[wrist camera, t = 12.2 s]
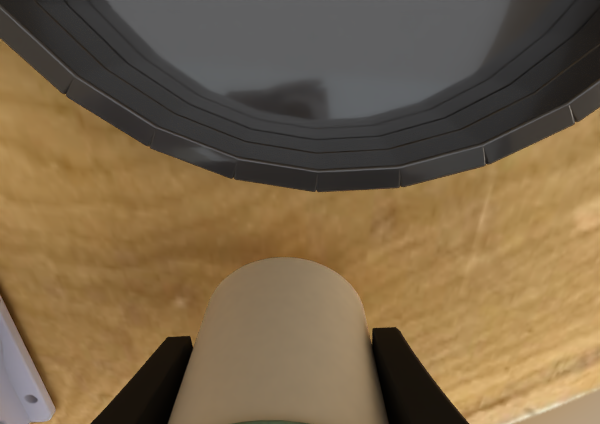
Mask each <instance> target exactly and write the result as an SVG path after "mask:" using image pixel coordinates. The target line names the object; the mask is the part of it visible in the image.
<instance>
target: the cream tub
mask: <svg viewBox="0 0 600 424" xmlns="http://www.w3.org/2000/svg"><path fill="white" fill-rule="evenodd" d="M168 424H389V422H388V417H387V413H386V408H385V404H384V399H383V394H382V390H381V385H380V381H379V376H378V372H377V367H376V362H375V358H374V353H373V349H372V344H371V339H370V335H369V330H368V325H367V321H366V316H365V312H364V308H363V304H362V302H361V299H360V297H359V295H358V294H357V292H356V291H355V289H354V288H353V287H352V286H351V284H350V283H349V282H348V281H347V280H345V279H344V278H343V277H342V276H341V275H340V274H338V273H337V272H335V271H334V270H332V269H330V268H328V267H326V266H324V265H322V264H319V263H316V262H314V261H310V260H306V259H301V258H293V257H276V258H267V259H263V260H258V261H255V262H252V263H249V264H247V265H245V266H243V267H241V268H239V269H237V270H235V271H234V272H232V273H231V274H230V275H228V276H227V277H226V278H225V279H224V280H223V281H222V282H221V283H220V284H219V285H218V286H217V288H216V289H215V291H214V292H213V294H212V296H211V298H210V300H209V303H208V306H207V308H206V311H205V314H204V317H203V320H202V323H201V326H200V329H199V332H198V335H197V338H196V341H195V344H194V347H193V350H192V353H191V356H190V359H189V362H188V365H187V368H186V371H185V374H184V377H183V380H182V383H181V386H180V389H179V391H178V394H177V397H176V400H175V403H174V406H173V409H172V412H171V415H170V418H169V421H168Z"/></svg>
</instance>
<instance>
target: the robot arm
mask: <svg viewBox="0 0 600 424" xmlns="http://www.w3.org/2000/svg"><path fill="white" fill-rule="evenodd" d="M372 349H373V353H374V358H375V362H376V367H377V372H378V376H379V381H380V385H381V390H382V394H383V399H384V404H385V408H386V413H387V417H388V422H389V424H469V423H468V422H467V421H466V419H465V418H464V417H463V416H462V415H461V414H460V412H459V411H458V410H457V409H456V408H455V406H454V405H453V404H452V403H451V402H450V400H449V399H448V398H447V396H446V395H445V394H444V393H443V391H442V390H441V389H440V388H439V386H438V385H437V384H436V382H435V381H434V380H433V379H432V377H431V376H430V375H429V373H428V372H427V371H426V369H425V368H424V366H423V365H422V364H421V362H420V361H419V359H418V358H417V357H416V355H415V354H414V352H413V351H412V349H411V348H410V346H409V345H408V343H407V342H406V340H405V338H404V337H403V335H402V334H401V332H400V330H398V329H397V328H396V327H391V328H373V331H372ZM192 350H193V346H192V342H191V338H190V336H181V337H167V338H166V340H165V341H164V342H163V343H162V344H161V345H160V346H159V347H158V349H157V350H156V351H155V352H154V353H153V354H152V356H151V357H150V358H149V359H148V360H147V361H146V363H145V364H144V365H143V366H142V367H141V368H140V370H139V371H138V372H137V373H136V374H135V375H134V377H133V378H132V379H131V380H130V381H129V382H128V383H127V385H126V386H125V387H124V388H123V389H122V390H121V391H120V392H119V393H118V395H117V396H116V397H115V398H114V399H113V400H112V401H111V402H110V404H109V405H108V406H107V407H106V408H105V409H104V410H103V411H102V412H101V413H100V414H99V415H98V416H97V417H96V418H95V419H94V420H93V422H92V423H91V424H168V421H169V418H170V415H171V412H172V409H173V406H174V403H175V400H176V397H177V394H178V391H179V389H180V386H181V383H182V380H183V377H184V374H185V371H186V368H187V365H188V362H189V359H190V356H191V353H192ZM55 411H56V410H55V406H54V404H53V402H52V400H51V398H50V396H49V394H48V392H47V390H46V388H45V386H44V384H43V382H42V380H41V377H40V375H39V373H38V371H37V369H36V367H35V365H34V363H33V361H32V359H31V357H30V355H29V353H28V351H27V349H26V347H25V345H24V342H23V340H22V338H21V336H20V334H19V332H18V330H17V328H16V326H15V324H14V322H13V320H12V318H11V316H10V314H9V312H8V310H7V307H6V305H5V303H4V301H3V299H2V297H1V295H0V424H29V423H30V422H45V421H48V420H50V419H51V418H52V416H53V415H54V413H55Z"/></svg>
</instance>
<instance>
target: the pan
mask: <svg viewBox="0 0 600 424" xmlns="http://www.w3.org/2000/svg"><path fill="white" fill-rule="evenodd" d="M0 39H2V40H3V41H4V42H5V43H6V44H7V45H8V46H9V47H11V48H12V49H13V50H14V51H15V52H16V53H17V54H18V55H20V56H21V57H22V58H23V59H24V60H25V61H26V62H27V63H28V64H30V65H31V66H32V67H33V68H34V69H35V70H36V71H37V72H39V73H40V74H41V75H42V76H43V77H44V78H45V79H46V80H48V81H49V82H50V83H51V84H52V85H53V86H54V87H55V88H57V89H58V90H59V91H60V92H61V93H63V94H66V96H67V97H68V98H69V99H71V100H73V101H74V102H76V103H77V104H79V105H81V106H82V107H84V108H86V109H87V110H89V111H90V112H92V113H94V114H95V115H97V116H99V117H100V118H102V119H103V120H105V121H107V122H108V123H110V124H112V125H113V126H115V127H116V128H118V129H120V130H121V131H123V132H125V133H126V134H128V135H129V136H131V137H133V138H134V139H136V140H138V141H139V142H141V143H142V144H144V145H146V146H150V148H151V149H153V150H156V151H159V152H161V153H164V154H167V155H169V156H172V157H175V158H177V159H180V160H183V161H185V162H188V163H191V164H193V165H196V166H199V167H201V168H204V169H207V170H209V171H212V172H214V173H217V174H220V175H222V176H225V177H228V178H231V179H232V178H233V177H234V179H236V180H242V181H248V182H254V183H261V184H267V185H273V186H280V187H286V188H293V189H299V190H305V191H312V192H315V191H316V190H317V192H331V191H350V190H369V189H389V188H399V187H400V186H401V187H406V186H410V185H414V184H418V183H422V182H425V181H429V180H433V179H437V178H441V177H445V176H449V175H452V174H456V173H460V172H464V171H468V170H472V169H476V168H480V167H483V166H485V165H486V164H492V163H494V162H496V161H498V160H500V159H502V158H504V157H506V156H508V155H511V154H513V153H515V152H517V151H519V150H521V149H523V148H525V147H528V146H530V145H532V144H534V143H536V142H538V141H540V140H542V139H545V138H547V137H549V136H551V135H553V134H555V133H557V132H559V131H561V130H564V129H566V128H568V127H570V126H572V125H574V124H575V122H579V121H581V120H582V119H584V118H585V117H586V116H588V115H589V114H591V113H592V112H594V111H595V110H596V109H598V108H599V107H600V0H0Z"/></svg>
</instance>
